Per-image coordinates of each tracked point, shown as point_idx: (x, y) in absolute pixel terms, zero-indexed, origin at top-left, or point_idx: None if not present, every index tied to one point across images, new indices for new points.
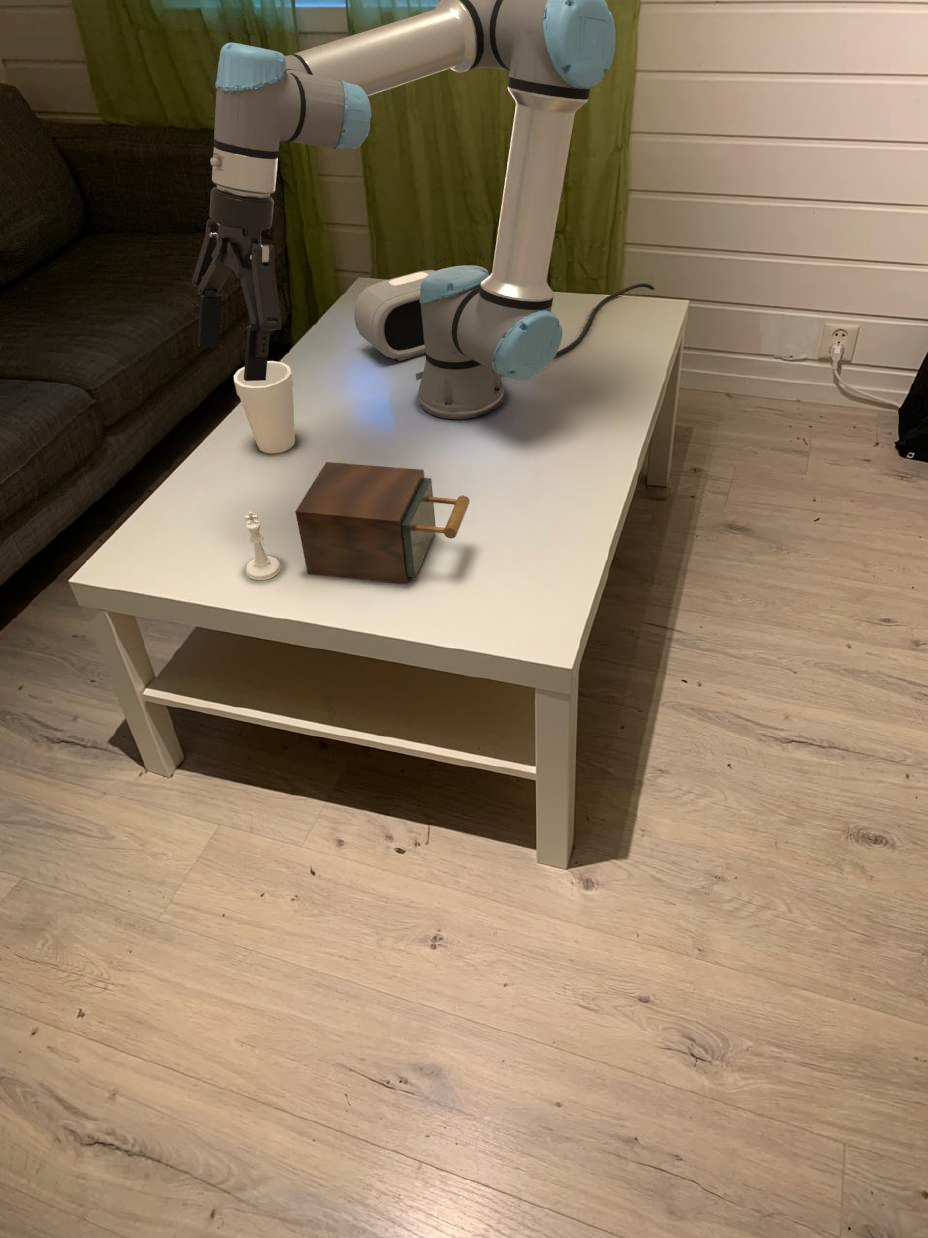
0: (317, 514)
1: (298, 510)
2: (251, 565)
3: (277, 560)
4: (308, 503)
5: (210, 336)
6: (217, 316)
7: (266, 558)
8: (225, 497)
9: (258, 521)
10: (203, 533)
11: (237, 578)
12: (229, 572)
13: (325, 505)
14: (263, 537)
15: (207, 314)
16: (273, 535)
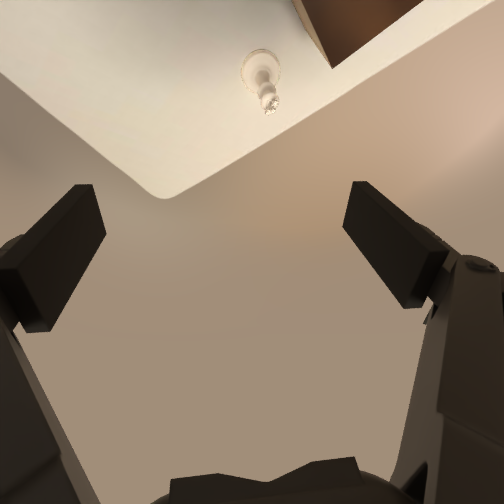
0: (364, 43)
1: (334, 63)
2: (255, 87)
3: (266, 54)
4: (335, 39)
5: (88, 222)
6: (56, 237)
7: (268, 74)
8: (67, 21)
9: (271, 94)
10: (147, 92)
11: (252, 102)
12: (237, 104)
13: (363, 18)
14: (272, 84)
15: (67, 273)
16: (204, 17)
